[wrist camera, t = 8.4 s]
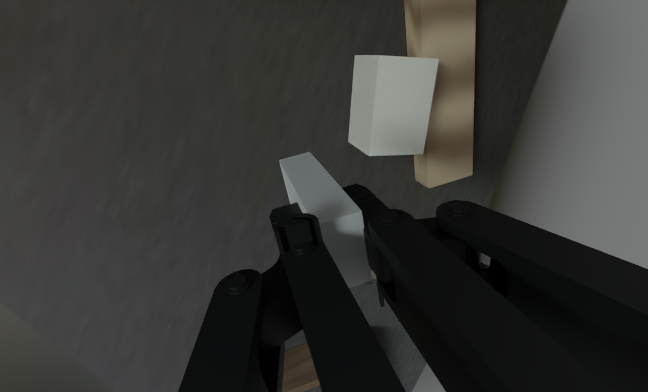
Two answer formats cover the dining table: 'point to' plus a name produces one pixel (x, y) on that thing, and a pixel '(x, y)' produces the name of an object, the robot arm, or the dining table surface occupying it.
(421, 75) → the block
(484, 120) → the dining table surface
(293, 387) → the wooden serving tray
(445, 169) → the batten
